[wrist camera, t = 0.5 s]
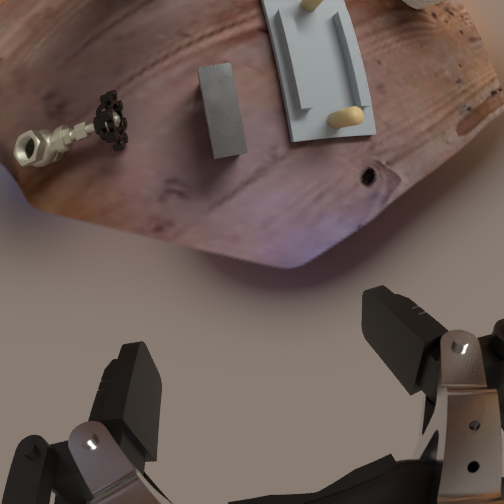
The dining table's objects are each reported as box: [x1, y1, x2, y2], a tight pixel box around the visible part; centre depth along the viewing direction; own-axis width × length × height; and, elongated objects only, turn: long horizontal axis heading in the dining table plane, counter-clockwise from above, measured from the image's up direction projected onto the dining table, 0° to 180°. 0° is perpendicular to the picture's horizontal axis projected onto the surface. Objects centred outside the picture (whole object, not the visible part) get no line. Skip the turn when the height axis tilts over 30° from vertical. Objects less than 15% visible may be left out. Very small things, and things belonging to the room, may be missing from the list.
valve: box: [14, 90, 128, 167], centre depth 24 cm, size 7×7×12 cm
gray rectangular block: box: [198, 63, 247, 160], centre depth 26 cm, size 9×3×6 cm, turn 10°
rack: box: [261, 0, 376, 142], centre depth 26 cm, size 20×11×6 cm, turn 10°
